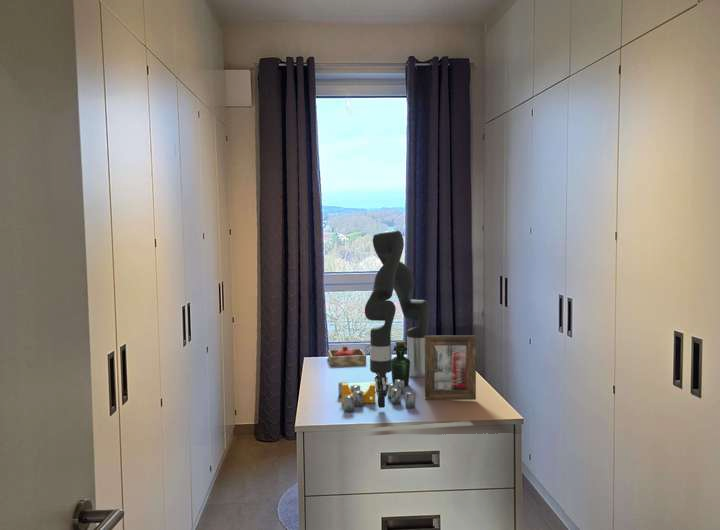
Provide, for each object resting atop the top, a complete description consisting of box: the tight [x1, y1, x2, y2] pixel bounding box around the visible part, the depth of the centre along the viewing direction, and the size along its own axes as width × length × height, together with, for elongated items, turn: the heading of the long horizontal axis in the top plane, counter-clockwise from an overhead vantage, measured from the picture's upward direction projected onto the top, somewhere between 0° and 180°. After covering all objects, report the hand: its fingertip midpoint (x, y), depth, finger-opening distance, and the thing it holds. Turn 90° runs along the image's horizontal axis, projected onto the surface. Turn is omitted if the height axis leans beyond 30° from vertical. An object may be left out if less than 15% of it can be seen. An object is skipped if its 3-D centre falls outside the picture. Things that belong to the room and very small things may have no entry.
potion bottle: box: [390, 339, 410, 388], centre depth 211 cm, size 8×8×18 cm
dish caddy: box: [327, 348, 367, 367], centre depth 250 cm, size 17×16×5 cm
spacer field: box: [337, 379, 416, 413], centre depth 190 cm, size 26×21×5 cm
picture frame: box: [424, 335, 477, 401], centre depth 191 cm, size 19×2×24 cm, turn 87°
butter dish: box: [336, 345, 355, 356], centre depth 249 cm, size 12×12×8 cm
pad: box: [347, 381, 377, 393], centre depth 208 cm, size 16×14×1 cm
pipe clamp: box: [341, 382, 376, 405], centre depth 188 cm, size 12×4×6 cm, turn 86°
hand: (381, 406), depth 179 cm, fingers closed
